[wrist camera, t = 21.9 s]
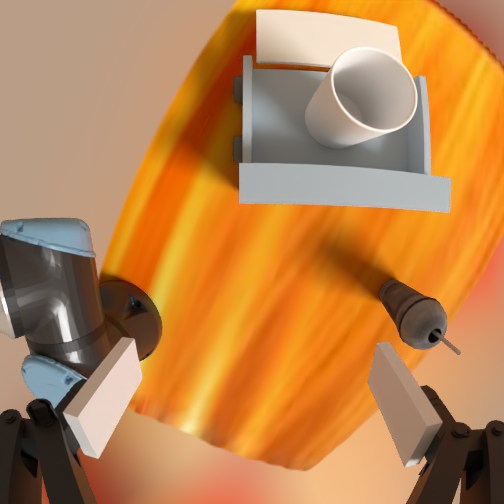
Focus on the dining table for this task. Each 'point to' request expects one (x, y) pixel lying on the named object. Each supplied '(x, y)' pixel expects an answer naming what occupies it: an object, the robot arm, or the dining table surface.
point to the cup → (361, 98)
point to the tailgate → (317, 37)
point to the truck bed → (328, 151)
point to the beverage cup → (415, 316)
